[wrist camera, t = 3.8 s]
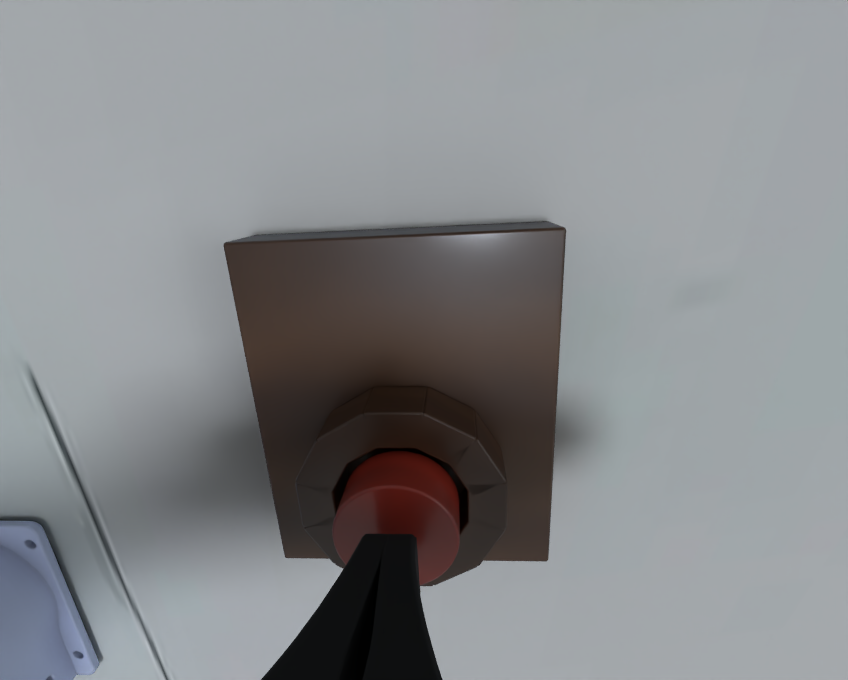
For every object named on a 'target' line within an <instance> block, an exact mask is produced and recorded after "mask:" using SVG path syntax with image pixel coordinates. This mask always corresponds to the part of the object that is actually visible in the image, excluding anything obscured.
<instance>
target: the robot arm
mask: <svg viewBox="0 0 848 680" xmlns="http://www.w3.org/2000/svg"><path fill="white" fill-rule="evenodd" d="M98 666H99V661H98V658H97V656H96V654H95V651H94V649H93V646H92V644H91V642H90V639H89V637H88V634H87V632H86V630H85V627H84V625H83V622H82V620H81V618H80V615H79V613H78V610H77V608H76V605H75V603H74V601H73V598H72V596H71V593H70V591H69V589H68V586H67V584H66V581H65V579H64V577H63V574H62V572H61V569H60V567H59V565H58V562H57V560H56V557H55V555H54V553H53V550H52V548H51V545H50V543H49V541H48V538H47V536H46V533H45V531H44V529H43V527H42V526H41V525H40V524H39V523H37V522H34V521H0V680H73V679H74V677H75V676H76V675H91V674H93V673H94V672H95V671H96V669H97V668H98ZM261 680H442V677H441V674H440V671H439V668H438V665H437V661H436V658H435V655H434V651H433V648H432V644H431V640H430V637H429V633H428V629H427V625H426V621H425V617H424V612H423V608H422V603H421V598H420V580H419V566H418V552H417V538H416V537H415V536H414V535H413V534H365V535H364V536H363V537H362V538H361V540H360V542H359V544H358V545H357V547H356V549H355V551H354V552H353V554H352V556H351V558H350V559H349V561H348V563H347V564H346V566H345V568H344V569H343V571H342V572H341V574H340V576H339V577H338V579H337V580H336V582H335V583H334V585H333V586H332V588H331V589H330V591H329V592H328V594H327V595H326V597H325V598H324V600H323V601H322V603H321V604H320V606H319V607H318V609H317V610H316V611H315V613H314V614H313V615H312V617H311V618H310V619H309V621H308V622H307V623H306V625H305V626H304V627H303V629H302V630H301V632H300V633H299V634H298V636H297V637H296V638H295V639H294V641H293V642H292V643H291V645H290V646H289V647H288V648H287V650H286V651H285V652H284V653H283V655H282V656H281V657H280V658H279V659H278V661H277V662H276V663H275V664H274V665H273V666H272V668H271V669H270V670H269V671H268V672H267V673H266V675H265V676H264V677H263V678H262V679H261Z"/></svg>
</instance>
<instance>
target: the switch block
mask: <svg viewBox="0 0 848 680" xmlns="http://www.w3.org/2000/svg"><path fill="white" fill-rule="evenodd" d="M565 239H566V229H565V228H564V227H561V226H559V225H556V224H553V223H551V222H527V223H505V224H484V225H462V226H441V227H419V228H398V229H376V230H354V231H333V232H311V233H290V234H268V235H254V236H250V237H246V238H242V239H238V240H234V241H229V242H226V243H224V250H225V255H226V260H227V265H228V270H229V275H230V280H231V286H232V291H233V296H234V301H235V306H236V311H237V316H238V321H239V326H240V331H241V336H242V341H243V346H244V351H245V357H246V362H247V367H248V372H249V377H250V382H251V387H252V392H253V397H254V402H255V407H256V412H257V417H258V422H259V428H260V433H261V438H262V443H263V448H264V453H265V458H266V463H267V468H268V473H269V478H270V483H271V488H272V493H273V499H274V504H275V509H276V514H277V519H278V524H279V529H280V534H281V539H282V544H283V549H284V554H285V557H286V558H326V559H330V560H331V561H332V562H333V563H335V564H336V565H337V566H339V567H341V568H345V566H346V565H345V563H344V562H343V561H342V559H341V558H340V556H339V555H338V553H337V551H336V548H335V546H334V542H333V536H332V527H333V522H334V518H335V515H336V512H337V509H338V507H339V504H340V501H341V498H342V496H343V493H344V490H345V487H346V485H347V482H348V480H349V477H350V476H351V474H352V472H353V471H354V470H355V469H356V468H357V466H359V465H360V464H361V463H362V462H363V461H365V460H367V459H368V458H370V457H372V456H374V455H377V454H380V453H383V452H388V451H409V452H414V453H418V454H421V455H424V456H426V457H428V458H430V459H432V460H434V461H435V462H437V463H438V464H439V465H441V466H442V467H443V468H444V469H445V470H446V471H447V472H448V474H449V475H450V476H451V478H452V479H453V481H454V483H455V485H456V487H457V491H458V494H459V520H460V544H459V549H458V553H457V555H456V558H455V560H454V561H453V563H452V565H451V566H450V567H449V568H448V570H447V571H446V572H444V573H443V574H442V575H441V576H439V577H438V578H436V579H435V580H433V581H431V582H429V583H426V584H423V585H420V586H433V585H436V584H439V583H441V582H443V581H446V580H448V579H450V578H452V577H455V576H457V575H459V574H462V573H464V572H466V571H469V570H471V569H473V568H476V567H477V566H479V565H480V564H481V563H482V561H483V560H484V561H548V554H549V536H550V517H551V499H552V480H553V462H554V443H555V424H556V406H557V387H558V369H559V350H560V332H561V313H562V295H563V276H564V257H565Z"/></svg>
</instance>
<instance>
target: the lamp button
mask: <svg viewBox="0 0 848 680" xmlns="http://www.w3.org/2000/svg"><path fill="white" fill-rule="evenodd" d="M365 534H413V535H414V536H415V537H416V538H417V552H418V566H419V580H420V585H423V584H426V583H429V582H431V581H433V580H435V579H436V578H438V577H439V576H441V575H442V574H443V573H444V572H446V571H447V570H448V568H449V567H450V566H451V565H452V563H453V561H454V560H455V558H456V555H457V553H458V549H459V544H460V520H459V494H458V491H457V487H456V485H455V483H454V481H453V479H452V478H451V476H450V475H449V474H448V472H447V471H446V470H445V469H444V468H443V467H442V466H441V465H439V464H438V463H437V462H435V461H434V460H432V459H430V458H428V457H426V456H424V455H421V454H418V453H414V452H409V451H388V452H383V453H380V454H377V455H374V456H372V457H370V458H368V459H367V460H365V461H363V462H362V463H361V464H360V465H359V466H357V468H356V469H355V470H354V471H353V472H352V474H351V476H350V477H349V480H348V482H347V485H346V487H345V490H344V493H343V496H342V498H341V501H340V504H339V507H338V509H337V512H336V515H335V518H334V522H333V527H332V536H333V542H334V546H335V548H336V551H337V553H338V555H339V556H340V558H341V559H342V561H343V562H344V563H345V565H346V564H347V563H348V561H349V559H350V558H351V556H352V554H353V552H354V551H355V549H356V547H357V545H358V544H359V542H360V540H361V538H362V537H363V536H364V535H365Z"/></svg>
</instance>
